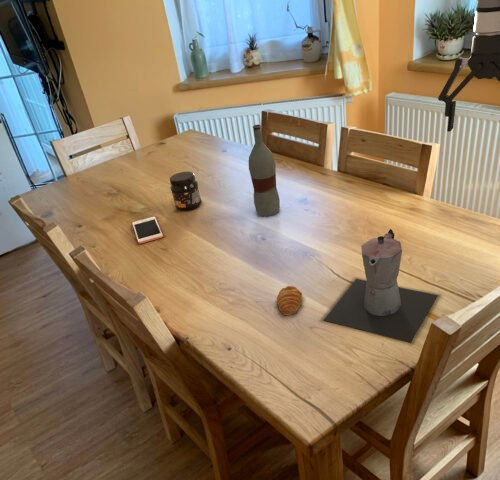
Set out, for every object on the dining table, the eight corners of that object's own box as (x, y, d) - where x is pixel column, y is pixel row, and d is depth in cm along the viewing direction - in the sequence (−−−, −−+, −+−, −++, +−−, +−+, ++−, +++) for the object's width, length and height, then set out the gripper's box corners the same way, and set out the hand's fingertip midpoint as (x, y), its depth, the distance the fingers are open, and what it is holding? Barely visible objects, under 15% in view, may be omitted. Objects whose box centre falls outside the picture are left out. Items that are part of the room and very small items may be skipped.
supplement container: (170, 208, 194) (162, 178, 186) (191, 198, 199) (184, 169, 191) (186, 214, 187) (178, 183, 180) (207, 203, 192) (201, 173, 185)
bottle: (284, 213, 175) (274, 126, 157) (259, 220, 174) (246, 132, 156) (276, 204, 182) (266, 119, 164) (252, 210, 181) (239, 125, 163)
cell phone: (155, 218, 188) (154, 216, 188) (163, 237, 174) (162, 235, 174) (132, 224, 187) (131, 222, 186) (138, 244, 173) (138, 241, 172)
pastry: (302, 316, 127) (301, 303, 124) (276, 318, 128) (274, 306, 125) (302, 295, 134) (301, 283, 132) (277, 297, 135) (275, 285, 133)
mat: (437, 295, 125) (437, 295, 125) (410, 342, 113) (410, 342, 113) (356, 279, 136) (356, 278, 136) (323, 320, 124) (323, 319, 124)
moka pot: (354, 320, 122) (352, 248, 110) (371, 286, 132) (371, 217, 120) (393, 326, 118) (396, 252, 106) (407, 290, 128) (411, 219, 116)
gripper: (559, 24, 105) (538, 127, 118) (439, 32, 118) (432, 124, 131) (553, 31, 101) (532, 138, 114) (429, 39, 113) (422, 133, 126)
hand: (478, 130), depth 122 cm, fingers open, 13 cm apart
